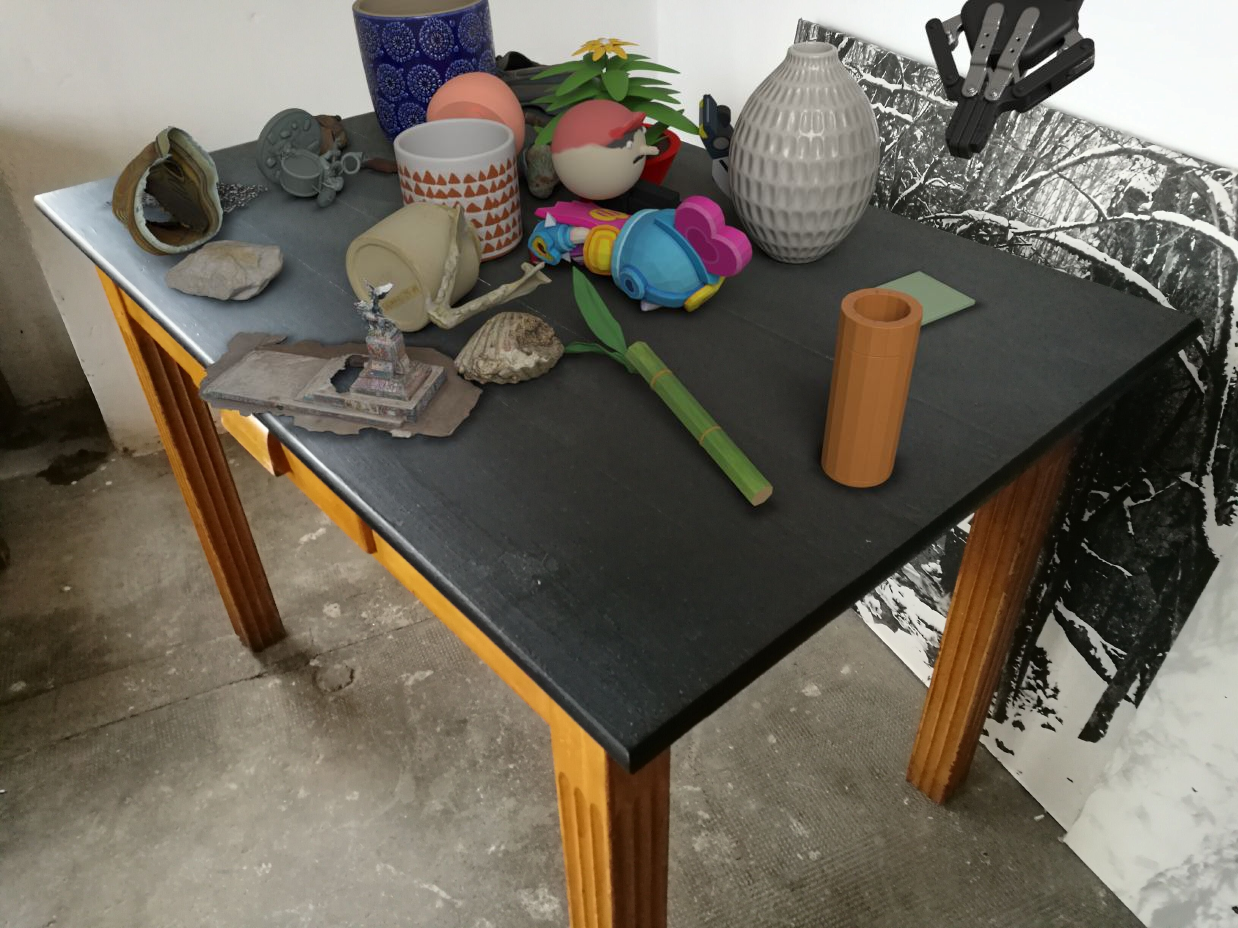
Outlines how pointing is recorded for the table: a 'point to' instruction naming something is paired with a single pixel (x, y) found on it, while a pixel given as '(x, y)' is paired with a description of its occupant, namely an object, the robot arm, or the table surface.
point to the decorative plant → (666, 390)
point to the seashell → (509, 350)
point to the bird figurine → (539, 163)
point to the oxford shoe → (170, 194)
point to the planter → (419, 53)
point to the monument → (380, 397)
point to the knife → (379, 164)
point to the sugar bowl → (411, 262)
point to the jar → (870, 385)
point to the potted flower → (620, 99)
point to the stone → (227, 270)
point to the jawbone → (450, 316)
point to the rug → (219, 196)
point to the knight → (646, 248)
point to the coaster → (930, 295)
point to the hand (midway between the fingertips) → (959, 153)
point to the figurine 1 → (301, 156)
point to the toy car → (716, 138)
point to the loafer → (517, 77)
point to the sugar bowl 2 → (479, 103)
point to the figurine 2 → (331, 132)
